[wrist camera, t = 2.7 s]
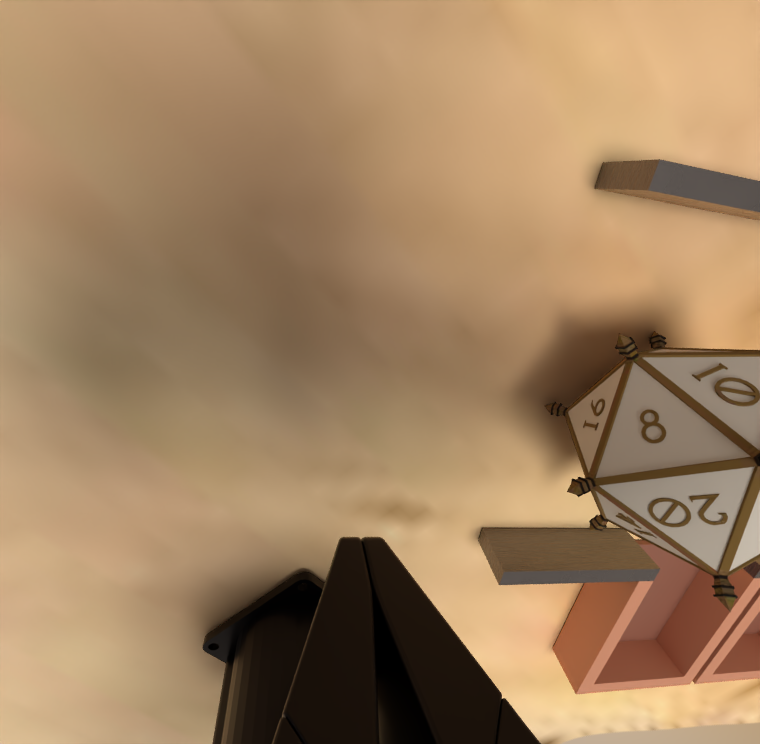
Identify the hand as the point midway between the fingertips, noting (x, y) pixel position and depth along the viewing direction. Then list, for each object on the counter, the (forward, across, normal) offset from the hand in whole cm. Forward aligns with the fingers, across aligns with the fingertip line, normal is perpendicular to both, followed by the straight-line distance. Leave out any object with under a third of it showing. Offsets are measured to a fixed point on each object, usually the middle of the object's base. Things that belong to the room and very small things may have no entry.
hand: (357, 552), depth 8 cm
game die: (+8, -12, 0) cm, 15 cm away
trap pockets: (+8, -23, +13) cm, 28 cm away
